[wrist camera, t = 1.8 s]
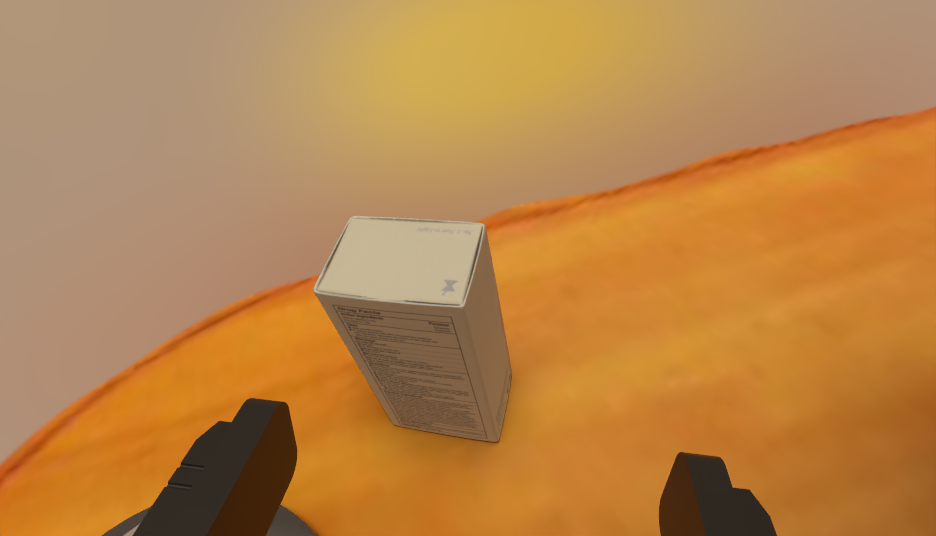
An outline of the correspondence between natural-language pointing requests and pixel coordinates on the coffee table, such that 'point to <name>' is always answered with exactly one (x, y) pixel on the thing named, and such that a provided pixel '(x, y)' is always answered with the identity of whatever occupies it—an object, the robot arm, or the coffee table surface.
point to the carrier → (284, 532)
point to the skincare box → (422, 321)
